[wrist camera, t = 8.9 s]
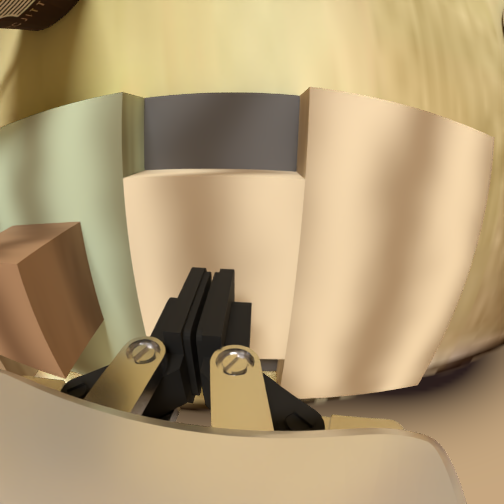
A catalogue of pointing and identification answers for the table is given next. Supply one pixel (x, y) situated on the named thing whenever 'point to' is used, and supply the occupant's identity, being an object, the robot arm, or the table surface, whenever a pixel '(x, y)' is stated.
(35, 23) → the coffee mug
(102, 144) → the platform
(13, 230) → the walnut block
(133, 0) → the table surface
